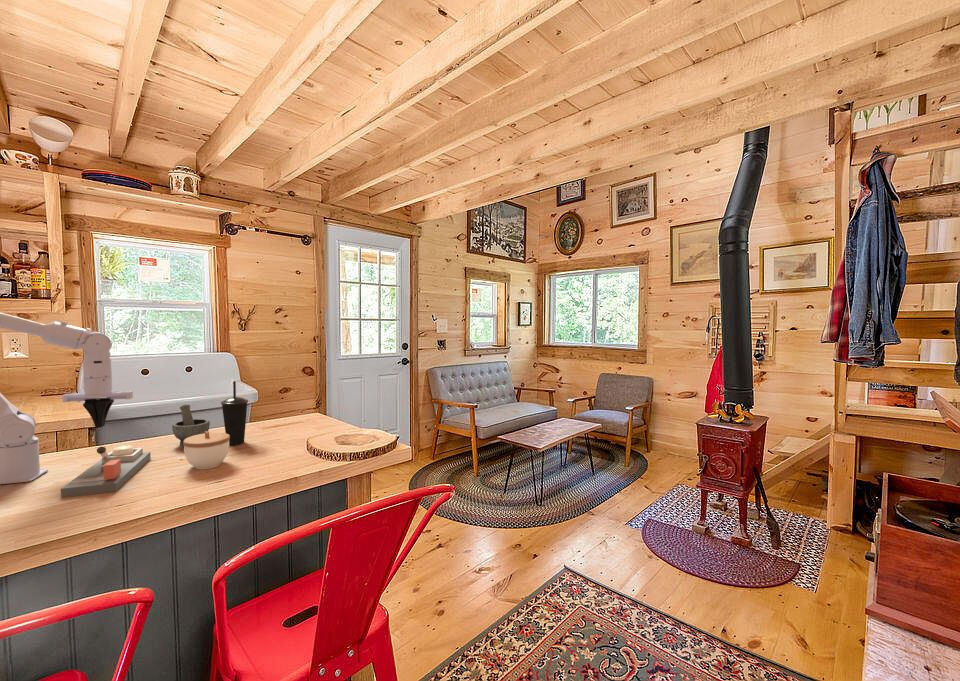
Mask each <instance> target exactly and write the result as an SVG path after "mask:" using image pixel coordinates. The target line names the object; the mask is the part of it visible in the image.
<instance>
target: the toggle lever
mask: <svg viewBox="0 0 960 681" xmlns="http://www.w3.org/2000/svg"><path fill="white" fill-rule="evenodd" d="M96 453H97V454H99V455H100V456H101V459H102V458H103V459H104V461H107V460H109V459H111V458H110V457H109V455H108V452H107V448H106V447H105V446H99V447H97V449H96Z"/></svg>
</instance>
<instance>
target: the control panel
mask: <svg viewBox="0 0 960 681" xmlns="http://www.w3.org/2000/svg"><path fill="white" fill-rule="evenodd" d="M143 450H144V448H143V447H136V448H134V447H133V454H131V455H122V456H112V450H111V451H110V452H107V454H108V455H109V457H110V458H111V459H109V460H107V461H104V459H103V458H102V457H101V459H100V460H98V461H97V462H95V463H94V464H93V465H91V466H90V467H89V468H87V469H85V470H84V471H83V472H81V474H79V475H77V476H76V477H75V478H74V479H72V480H71V481H69V482H68V483H67V484H65V485H64V486H63V487H61V488H60V498H69V497H77V496H86V495H95V494H105V493H113V492H118V490H119V489H121V487H122V486H124V485H125V484H126V483H127V481H129V480H130V479H131V478H132V477H133V476H134V475H135V474H137V473H138V471H139V470H140V469H141V468H143V467H144V466H145V465H146V464H147V463H148V462H149V461H150V460H151V458H152V457H151V451H143ZM118 459H121V473H120V474H119V475H118V476H117V477H116V478H115V479H107V480H104V472H103V465H105V464H106V463H107V462H109V461H110V460H118Z"/></svg>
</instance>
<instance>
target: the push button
mask: <svg viewBox="0 0 960 681" xmlns="http://www.w3.org/2000/svg"><path fill="white" fill-rule="evenodd" d="M133 449H134V445H120V446H116V447H114V448H112V450H111V451H112V456H122V455H131V454H133Z"/></svg>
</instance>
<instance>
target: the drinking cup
mask: <svg viewBox="0 0 960 681" xmlns="http://www.w3.org/2000/svg"><path fill="white" fill-rule="evenodd" d="M236 382H237V381H236V380H233V382H232V384H233V385H232V387H233V391H232V392H233V393H232V394H233V397H228V398H226V399H224V400H222V401H220V404H221V407H222V408H221V409H222V416H223V424H224V433H226V434H229V435H230V439H229V446H240V445H242V444H244V443H245V436H246V425H247V424H246V423H247V422H246V421H247V412H248V403H249V400H248V399H247V398H244V397H239V396H237V386H236V384H237V383H236Z"/></svg>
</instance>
